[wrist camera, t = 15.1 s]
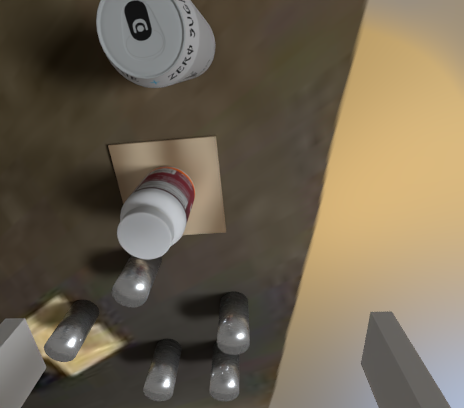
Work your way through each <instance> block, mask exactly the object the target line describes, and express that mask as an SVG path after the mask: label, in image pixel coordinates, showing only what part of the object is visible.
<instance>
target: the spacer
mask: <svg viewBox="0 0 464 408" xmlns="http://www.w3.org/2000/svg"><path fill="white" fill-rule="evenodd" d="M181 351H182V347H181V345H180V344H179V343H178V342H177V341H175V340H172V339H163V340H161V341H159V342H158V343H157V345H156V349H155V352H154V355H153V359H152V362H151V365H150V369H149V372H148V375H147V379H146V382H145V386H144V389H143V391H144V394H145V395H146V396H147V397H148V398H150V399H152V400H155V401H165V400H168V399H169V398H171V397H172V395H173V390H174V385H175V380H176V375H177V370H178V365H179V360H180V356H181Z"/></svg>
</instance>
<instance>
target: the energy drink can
mask: <svg viewBox="0 0 464 408" xmlns="http://www.w3.org/2000/svg"><path fill="white" fill-rule="evenodd" d="M96 25H97V33H98V37H99V41H100V44H101V46H102V48H103V50H104V52H105V54H106V56H107V58H108V59H109V61H110V62H111V64H112V65H113V66H114V68H115V69H116V70H117V71H118V72H119V73H120V74H121V75H122V76H124V77H125V78H126V79H128V80H129V81H131V82H133V83H135V84H137V85H140V86H144V87H149V88H160V87H166V86H169V85H173V84H176V83H179V82H183V81H186V80H189V79H193V78H196V77H198V76H200V75H201V74H203V73H204V72H205V71H206V70H207V69H208V67H209V66H210V65H211V63H212V60H213V58H214V54H215V38H214V35H213V32H212V30H211V28H210V25H209V24H208V23H207V21H206V20H205V19H204V17H203V16H202V15H201V14H200V12H199V11H198V10H197V8H196V7H195V6H194V4H193V3H192V2H191V1H190V0H101V1H100V3H99V7H98V10H97V18H96Z"/></svg>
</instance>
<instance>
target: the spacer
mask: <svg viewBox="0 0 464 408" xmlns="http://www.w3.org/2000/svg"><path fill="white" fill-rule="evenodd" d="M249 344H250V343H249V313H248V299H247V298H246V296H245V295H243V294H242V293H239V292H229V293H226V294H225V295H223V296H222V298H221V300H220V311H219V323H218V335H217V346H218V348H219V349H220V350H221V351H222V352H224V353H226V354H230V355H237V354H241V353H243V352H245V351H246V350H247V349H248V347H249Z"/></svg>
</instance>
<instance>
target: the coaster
mask: <svg viewBox="0 0 464 408" xmlns="http://www.w3.org/2000/svg"><path fill="white" fill-rule="evenodd" d="M108 147H109V151H110V155H111V158H112V162H113V166H114V170H115V174H116V178H117V181H118V185H119V189H120V193H121V197H122V201H123V205H124V203H125V201H126V200H127V198H128V197H129V196H130V195H131V194H132V192H133V191H134V190H135V189H136V188H137V186H138V185H139V184H140V183H141V182H142V180H143V179H144V178H145V177H146V176H147V175H148V174H149V173H150V172H151V171H152V170H154V169H156V168H158V167H162V166H172V167H176V168H178V169H180V170H182V171H184V172H185V173H186V174H187V175H188V176H189V177H190V178H191V180H192V182H193V184H194V187H195V199H194V202H193V205H192V209H191V212H190V215H189V218H188V221H187V224H186V227H185V230H184V232H183V234H182V235H191V234H206V233H221V232H226V224H225V215H224V206H223V197H222V188H221V179H220V170H219V161H218V152H217V143H216V135H214V136H202V137H190V138H179V139H167V140H155V141H143V142H131V143H119V144H110V145H108Z"/></svg>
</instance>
